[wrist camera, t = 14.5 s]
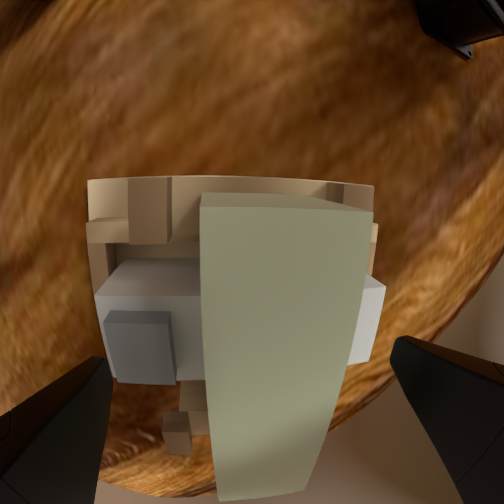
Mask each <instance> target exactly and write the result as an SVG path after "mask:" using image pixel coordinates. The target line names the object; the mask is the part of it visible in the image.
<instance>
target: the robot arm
mask: <svg viewBox="0 0 504 504" xmlns="http://www.w3.org/2000/svg"><path fill="white" fill-rule="evenodd" d="M415 2H416V6H417V9H418V14H419V18H420V22H421V27H422V29H423V31H424V32H425V33H426V34H428V35H430V36H432V37H434V38H435V39H437V40H439V41H441V42H442V43H444V44H446V45H447V46H449V47H451V48H452V49H454V50H456V51H457V52H459V53H460V54H462V55H463V56H465V57H466V58H468V59H471V58H473V53H472V48H471V44H474V43H477V42H481V41H484V40H488V39H492V38H496V37H499V36H504V0H415ZM390 364H391V366H392V368H393V370H394V373H395V375H396V377H397V379H398V381H399V383H400V385H401V387H402V389H403V392H404V394H405V396H406V398H407V400H408V401H409V403H410V405H411V406H412V408H413V410H414V412H415V413H416V415H417V416H418V418H419V420H420V422H421V423H422V425H423V427H424V429H425V431H426V432H427V434H428V436H429V438H430V440H431V441H432V443H433V445H434V447H435V449H436V451H437V452H438V454H439V456H440V458H441V460H442V462H443V463H444V465H445V467H446V469H447V471H448V473H449V475H450V477H451V479H452V481H453V483H454V485H455V487H456V489H457V491H458V494H459V496H460V498H461V500H462V502H463V504H504V365H501V364H498V363H494V362H491V361H487V360H484V359H481V358H478V357H474V356H471V355H468V354H464V353H461V352H458V351H455V350H451V349H449V348H445V347H442V346H439V345H436V344H433V343H430V342H427V341H424V340H420V339H417V338H414V337H411V336H408V335H405V336H401V337H398V338H396V340H395V342H394V346H393V349H392V352H391V355H390ZM112 390H113V379H112V375H111V372H110V369H109V365H108V362H107V359H106V358H105V357H100V356H92V357H90V358H88V359H87V360H85V361H84V362H82V363H81V364H79V365H78V366H76V367H75V368H73V369H72V370H70V371H69V372H67V373H66V374H64V375H63V376H61V377H60V378H58V379H57V380H55V381H54V382H52V383H51V384H49V385H47V386H46V387H44V388H43V389H41V390H40V391H38V392H37V393H35V394H34V395H32V396H31V397H29V398H28V399H26V400H25V401H23V402H22V403H20V404H19V405H17V406H16V407H14V408H13V409H11V411H8V412H6V413H5V414H3V415H2V416H0V504H94V500H95V493H96V487H97V481H98V475H99V469H100V464H101V459H102V454H103V449H104V444H105V440H106V435H107V430H108V423H109V414H110V406H111V398H112Z"/></svg>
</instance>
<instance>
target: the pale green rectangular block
mask: <svg viewBox="0 0 504 504" xmlns="http://www.w3.org/2000/svg"><path fill="white" fill-rule="evenodd" d="M373 215H374V212H370V211H367V210H363V209H359V208H355V207H351V206H347V205H343V204H339V203H335V202H331V201H327V200H323V199H318V198H314V197H309V196H305V195H290V194H265V193H211V192H202V196H201V202H200V286H201V314H202V336H203V353H204V369H205V383H206V395H207V407H208V417H209V428H210V437H211V446H212V455H213V463H214V471H215V478H216V486H217V493H218V499H219V501H232V500H244V499H253V498H262V497H269V496H276V495H282V494H288V493H293V492H298V491H303V490H304V489H305V487H306V485H307V482H308V480H309V477H310V475H311V473H312V470H313V468H314V465H315V463H316V460H317V458H318V455H319V453H320V450H321V447H322V444H323V442H324V439H325V436H326V433H327V430H328V428H329V425H330V422H331V419H332V415H333V412H334V409H335V406H336V403H337V399H338V396H339V393H340V389H341V386H342V382H343V379H344V375H345V371H346V368H347V364H348V360H349V356H350V352H351V348H352V343H353V339H354V335H355V330H356V325H357V321H358V316H359V311H360V306H361V300H362V295H363V289H364V283H365V277H366V271H367V264H368V257H369V250H370V242H371V234H372V225H373Z"/></svg>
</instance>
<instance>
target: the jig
mask: <svg viewBox="0 0 504 504" xmlns="http://www.w3.org/2000/svg"><path fill="white" fill-rule="evenodd" d="M202 192H211V193H265V194H290V195H305V196H309V197H314V198H318V199H323V200H327V201H331V202H335V203H339V204H343V205H347V206H351V207H355V208H359V209H363V210H367V211H370V212H372V211H373V199H374V187H373V186H370V185H361V184H352V183H342V182H331V181H320V180H307V179H292V178H275V177H252V176H147V177H125V178H108V179H95V180H88V211H89V222H87V223H86V235H87V247H88V256H89V265H90V272H91V280H92V286H93V293H94V295H95V294H96V292H97V291H98V290H99V289H100V288H101V286H102V285H103V284H104V283H105V282H106V280H107V279H108V278H109V277H110V276H111V274H112V273H113V272H114V271H115V270H116V269H117V267H118V266H119V265H120V264H121V263H122V262H123V261H124V260H125V258H200V202H201V196H202ZM377 231H378V224H376V223H373V225H372V234H371V242H370V250H369V257H368V264H367V271H366V274H368V275H369V276H371V274H372V268H373V262H374V255H375V247H376V240H377ZM94 299H95V298H94ZM95 304H96V303H95ZM96 310H97V309H96ZM97 315H98V314H97ZM98 320H99V319H98ZM99 325H100V324H99ZM100 329H101V328H100ZM101 334H102V333H101ZM102 338H103V337H102ZM103 343H104V341H103ZM104 347H105V345H104ZM105 351H106V350H105ZM106 355H107V353H106ZM107 358H108V357H107ZM108 362H109V361H108ZM109 366H110V365H109ZM110 369H111V368H110ZM176 381H180V396H179V411H163V422H162V435H163V438H164V442H165V445H166V448H167V451H168V455H192V435H210V428H209V417H208V407H207V395H206V383H205V380H176Z"/></svg>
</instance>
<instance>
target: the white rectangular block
mask: <svg viewBox="0 0 504 504" xmlns="http://www.w3.org/2000/svg"><path fill="white" fill-rule="evenodd" d="M385 291H386V286H384V285H383V284H381V283H380V282H378V281H377V280H375V279H374V278H372V277H371V276H369V275H368V274H366V277H365V283H364V289H363V295H362V300H361V306H360V311H359V316H358V321H357V325H356V330H355V335H354V339H353V343H352V348H351V352H350V356H349V360H348V364H347V365H352V364H357V363H362V362H367V361H369V357H370V354H371V350H372V347H373V343H374V339H375V335H376V331H377V327H378V323H379V319H380V314H381V310H382V305H383V301H384V296H385ZM94 298H95V303H96V309H97V314H98V319H99V324H100V328H101V333H102V337H103V341H104V345H105V350H106V353H107V357H108V361H109V365H110V368H111V372H112V375H113V377H115V378H117V381H118V382H119V383H133V384H153V385H176V380H205V369H204V353H203V336H202V314H201V286H200V258H125V260H124V261H123V262H122V263H121V264H120V265H119V266H118V267H117V269H116V270H115V271H114V272H113V273H112V274H111V276H110V277H109V278H108V279H107V280H106V282H105V283H104V284H103V285H102V286H101V288H100V289H99V290H98V291H97V292H96V294H95V295H94Z"/></svg>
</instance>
